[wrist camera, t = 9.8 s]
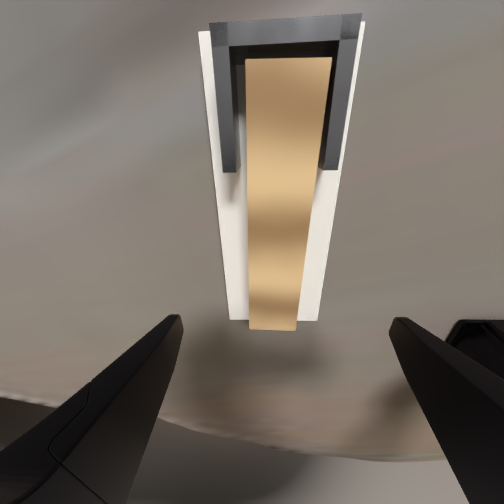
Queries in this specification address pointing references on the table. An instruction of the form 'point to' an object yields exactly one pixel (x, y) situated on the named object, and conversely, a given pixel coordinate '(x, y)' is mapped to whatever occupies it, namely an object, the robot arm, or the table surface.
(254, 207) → the oak rail
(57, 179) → the table surface
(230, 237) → the bracket plate
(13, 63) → the table surface
